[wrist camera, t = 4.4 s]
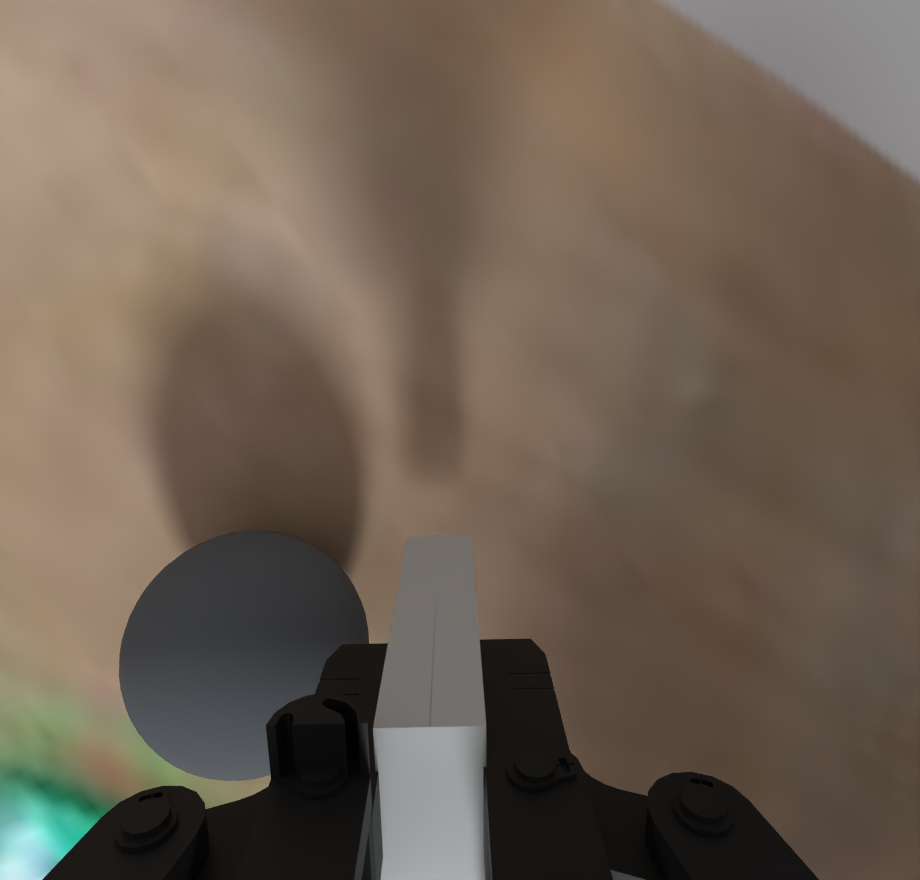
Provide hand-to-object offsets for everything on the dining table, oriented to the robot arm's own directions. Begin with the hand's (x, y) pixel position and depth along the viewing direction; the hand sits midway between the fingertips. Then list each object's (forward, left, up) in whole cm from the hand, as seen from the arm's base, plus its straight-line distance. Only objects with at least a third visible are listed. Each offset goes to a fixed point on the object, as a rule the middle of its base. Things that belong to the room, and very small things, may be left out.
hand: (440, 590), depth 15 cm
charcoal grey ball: (+5, +1, 0) cm, 5 cm away
